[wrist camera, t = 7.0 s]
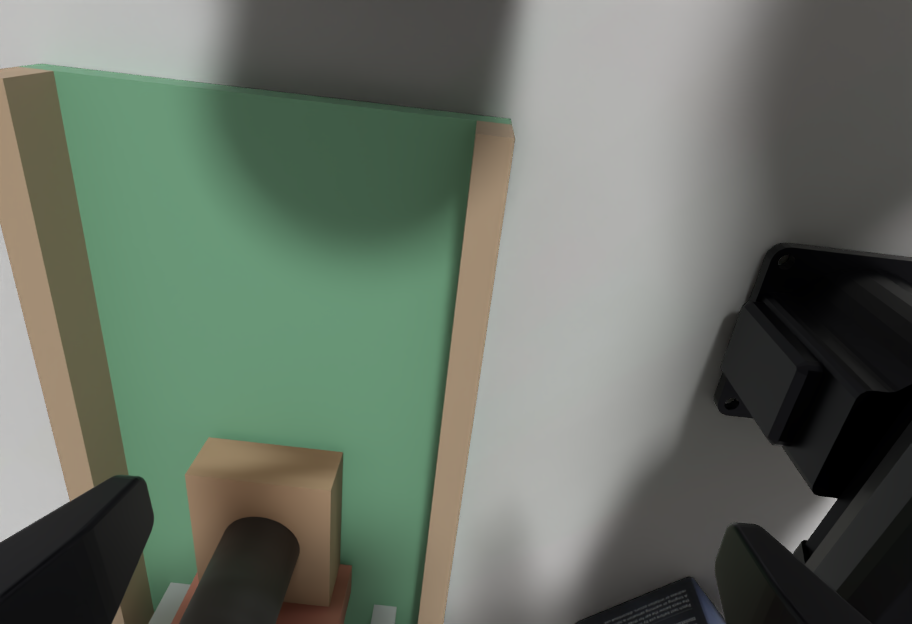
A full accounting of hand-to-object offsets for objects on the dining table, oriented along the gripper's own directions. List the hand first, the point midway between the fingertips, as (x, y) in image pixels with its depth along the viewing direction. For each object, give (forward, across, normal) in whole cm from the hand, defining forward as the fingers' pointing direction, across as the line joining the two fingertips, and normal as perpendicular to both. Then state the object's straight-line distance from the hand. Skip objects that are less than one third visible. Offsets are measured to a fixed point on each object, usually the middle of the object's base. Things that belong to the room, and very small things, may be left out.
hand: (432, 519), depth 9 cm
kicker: (+10, +7, +12) cm, 17 cm away
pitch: (+12, +7, +9) cm, 16 cm away
